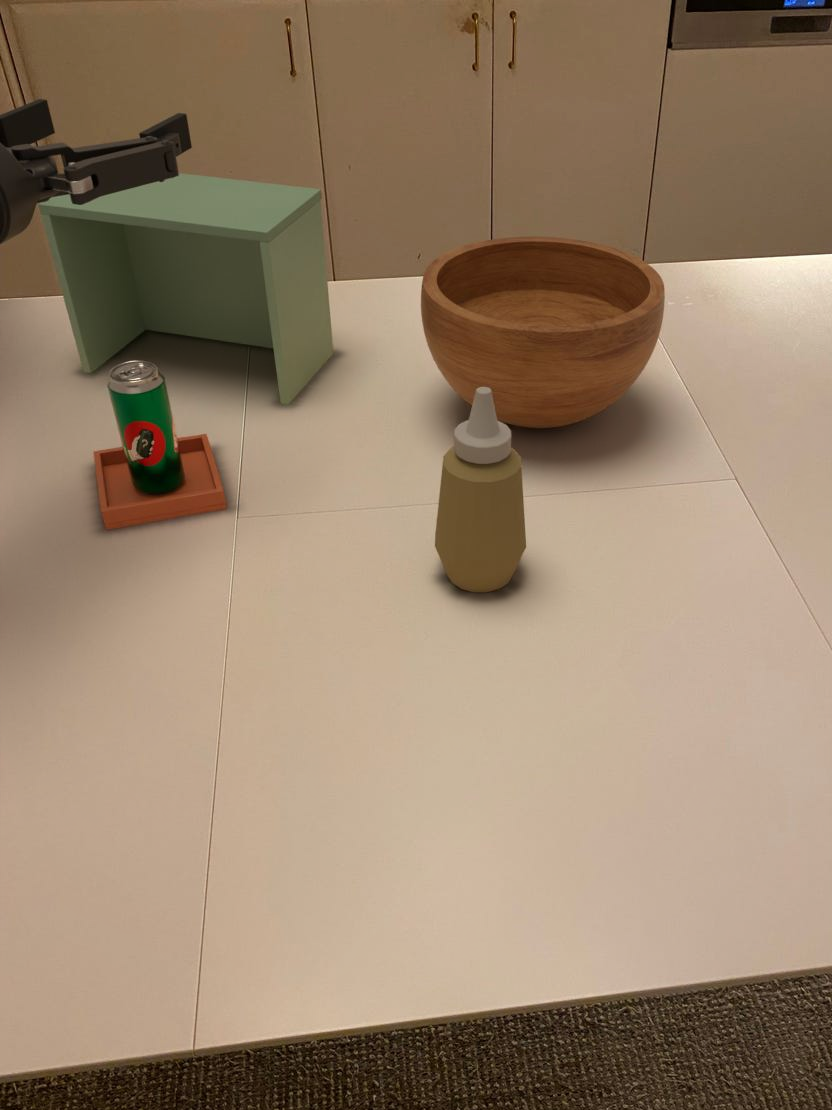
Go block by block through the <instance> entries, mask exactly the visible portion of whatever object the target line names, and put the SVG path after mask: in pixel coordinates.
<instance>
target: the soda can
mask: <svg viewBox="0 0 832 1110" xmlns="http://www.w3.org/2000/svg"><path fill="white" fill-rule="evenodd" d="M108 377H109V379H108V380H107V386H106V387H107V390H108V394H109V397H110V398H109V399H110V402H111V405H112V410H113V413H114V414H113V415H114V417H115V418H114V419H115V421H116V426H117V430H118V433H119V437H120V441H121V445H122V446H121V447H123V449H124V453H125V457H126V461H127V465H128V469H129V473H130V477H131V481H132V484H133V486H134V487H135V488H136V489H138V490H139V491H141V492H142V493H145V494H149V495H162V494H166V493H169V492H172V491H174V490H175V489H177V488H178V487H179V486H180V485H181V484H182V482H183V480H184V478H185V473H184V468H183V463H182V459H181V454H180V449H179V444H178V440H177V438H178V435H177V430H176V425H175V421H174V417H173V416H174V415H173V412H172V407H171V401H170V399H169V392H168V388H167V384H166V383H167V382H166V378H165V376H164V375H163V374H162V373H161V372H160V371H159V367H158V366H157V365H156V364H155V363H153V362H151V361H148V360H129V361H125V362H122V363H118V364H116V365H115V366H113V367H112V368H110V370H109V372H108Z"/></svg>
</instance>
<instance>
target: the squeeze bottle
mask: <svg viewBox="0 0 832 1110" xmlns="http://www.w3.org/2000/svg"><path fill="white" fill-rule="evenodd" d="M453 434H454V435H453V446H452V447H450V448H449V449H448V450H447V451H446V452H445V453H444V455H443V456H442V466H441V467H442V468H441V477H440V487H439V495H438V506H437V515H436V525H435V533H434V548H435V550H436V552H437V554H438V557H439V559H440V562H441V564H442V567H443V569H444V571H445V573H446V576H447V577H448V579H449V580H450V583H452V584H453V585H455V586H456V587H458V588H459V589H461V590H464V591H466V592H467V591H468V592H470V593H471V592H472V593H489V592H492V591H493V592H494V591H497V590H500V589H502V588H503V587H505V586H506V585H508V584H509V583H510V581H511V580H512V577H513V575H514V573H515V571H516V569H517V567H518V565H519V563H520V561H521V559H522V557H523V555H524V553H525V551H526V548H527V536H526V535H527V534H526V519H525V503H524V488H523V487H524V485H523V469H522V468H523V467H522V456H521V455H519V453H518V452H517V450H515V449H514V448H513V447H512V430H511V429H510V428H509V426H508V425H507V423H505V422H502V421H499V420H497V416H496V411H495V406H494V402H493V397H492V392H491V389H490V388H488V387H479V388H477V389H476V393H475V397H474V401H473V405H471V409H470V413H469V416H468V420H467V419H466V420H465V421H463V422H461V423H459V424H458V425H457V426H456V427H455V429H454V431H453Z"/></svg>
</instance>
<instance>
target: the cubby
mask: <svg viewBox="0 0 832 1110" xmlns="http://www.w3.org/2000/svg"><path fill="white" fill-rule="evenodd" d="M322 199H323V191H322V189H320V188H314V187H306V186H297V185H288V184H287V185H286V184H278V183H269V182H261V181H252V180H244V179H235V178H224V177H218V176H207V175H199V174H191V173H190V174H189V173H181V172H179V175H178V176H176V177H174V178H169V179H165V181H163V182H160V181H158V182H154V183H150V184H146V185H142V186H139V187H135V188H131V189H127V190H123V191H120V192H116V193H112V194H108V195H104V196H101V197H98V198H96V199H94V200H92V201H90V202H88V203H85V204H83V205H77V204H72V202H71V198H70V194H68V195H62V196H56V197H51V198H50V199H49V200H48V201H46V202H41V203H37V206H38V209H39V212H40V217H41V219H42V223H43V227H44V231H45V234H46V238H47V242H48V245H49V249H50V254H51V257H52V261H53V264H54V267H55V268H54V269H55V271H56V275H57V279H58V282H59V287H60V290H61V293H62V298H63V301H64V304H65V309H66V312H67V315H68V319H69V323H70V327H71V330H72V334H73V337H74V341H75V346H76V349H77V352H78V356H79V360H80V363H81V368H82V371H83V373H86V374H92V373H93V372H95V371H96V370H97V369H99V368H100V367H101V366H102V365H104V364H105V363H106V362H107V361H108V360H110V359H111V358H112V357H113V356H115V354H117V353H118V352H120V351H121V350H122V349H124V348H125V347H126V346H128V345H129V344H130V343H131V342H132V341H134V340H135V339H136V338H137V337H138V336H140V335H141V334H142V333H144V332H145V331H153V332H158V333H159V332H160V333H166V334H172V335H173V334H174V335H180V336H185V337H186V336H187V337H188V336H189V337H194V338H200V339H207V340H208V339H209V340H213V341H220V342H228V343H234V344H239V345H248V346H255V347H261V348H267V349H272V350H273V355H274V363H275V370H276V379H277V387H278V393H279V394H278V395H279V402H280V404H283V405H288V406H289V405H290V404H291V402H292V401H293V400H294V399H295V398H296V397H297V396H298V395H299V393H300V392H301V391H302V390H303V389H304V388H305V387H306V386H307V384H308V383H309V382H310V381H311V380H312V379H313V378H314V377H315V375H316V374H317V373H318V372H319V371H320V370H321V368H322V367H323V366H324V365H325V364H326V363H327V362H328V361H329V360H330V358H331V357H332V356H333V355H334V354H335V352H334V343H333V342H334V341H333V330H332V329H333V328H332V319H331V317H332V316H331V306H330V295H329V294H330V293H329V284H328V283H329V282H328V272H327V262H326V252H325V251H326V250H325V249H326V248H325V237H324V227H323V215H322V214H323V213H322V203H321V200H322Z"/></svg>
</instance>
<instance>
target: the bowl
mask: <svg viewBox="0 0 832 1110" xmlns="http://www.w3.org/2000/svg"><path fill="white" fill-rule="evenodd" d="M665 293H666V292H665V284H664V280H663V278H662V277H661V275H660V274H659V273H658V272H657V270H656V269H655V268H653V266H651V265H650V264H649V263H647V262H646V261H644V260H642V259H641V258H639V257H637V256H635V255H633V254H630V253H629V252H626V251H623V250H621V249H618V248H614V247H611V246H608V245H604V244H601V243H597V242H591V241H586V240H582V239H581V240H580V239H573V238H565V237H553V236H512V237H500V238H494V239H487V240H482V241H476V242H472V243H470V244H465V245H462V246H458V247H456V248H454V249H451V250H449V251H447V252H445V253H443V254H441V255H440V256H438V257H437V258H435V259H434V260H433V261H431V263H430V264H428V266H427V267H426V269H425V270H424V273H423V275H422V280H421V290H420V315H421V322H422V323H421V324H422V329H423V333H424V336H425V337H424V338H425V340H426V344H427V347H428V349H429V352H430V355H431V357H432V359H433V361H434V363H435V365H436V367H437V369H438V370H439V371H440V374H441V375H442V376H443V378H444V379H445V381H446V382H447V383H448V385H450V387H451V388H452V389H453V390H454V391H455V392H456V393H457V394H458V395H459V396H460V397H461V398H462V399H463V400H464V401H465V402H466V403H468V404H469V405H470V406H472V405H473V401H474V397H475V393H476V389H477V388H479V387H488V388H490V389H491V392H492V397H493V402H494V406H495V411H496V416H497V421H500V422H502V423H504V424H509V425H513V426H516V427H522V428H530V429H549V428H550V429H551V428H558V427H565V426H569V425H572V424H576V423H579V422H582V421H584V420H586V419H589V418H591V417H593V416H595V415H596V414H598V413H600V412H602V411H603V410H605V409H606V408H608V407H610V406H611V405H613V404H614V403H615V402H616V401H617V400H619V399H621V397H622V396H623V395H624V394H625V393H626V392H627V391H628V390H629V389H630V388H631V387H632V386H633V385H634V383H635V382H636V381H637V380H638V378H639V377H640V376H641V374H642V372H643V371H644V370H645V368H646V366H647V365H648V363H649V361H650V359H651V357H652V355H653V353H654V350H655V348H656V345H657V343H658V340H659V336H660V333H661V330H662V325H663V319H664V315H665V313H664V312H665V297H666V296H665V295H666V294H665Z"/></svg>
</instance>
